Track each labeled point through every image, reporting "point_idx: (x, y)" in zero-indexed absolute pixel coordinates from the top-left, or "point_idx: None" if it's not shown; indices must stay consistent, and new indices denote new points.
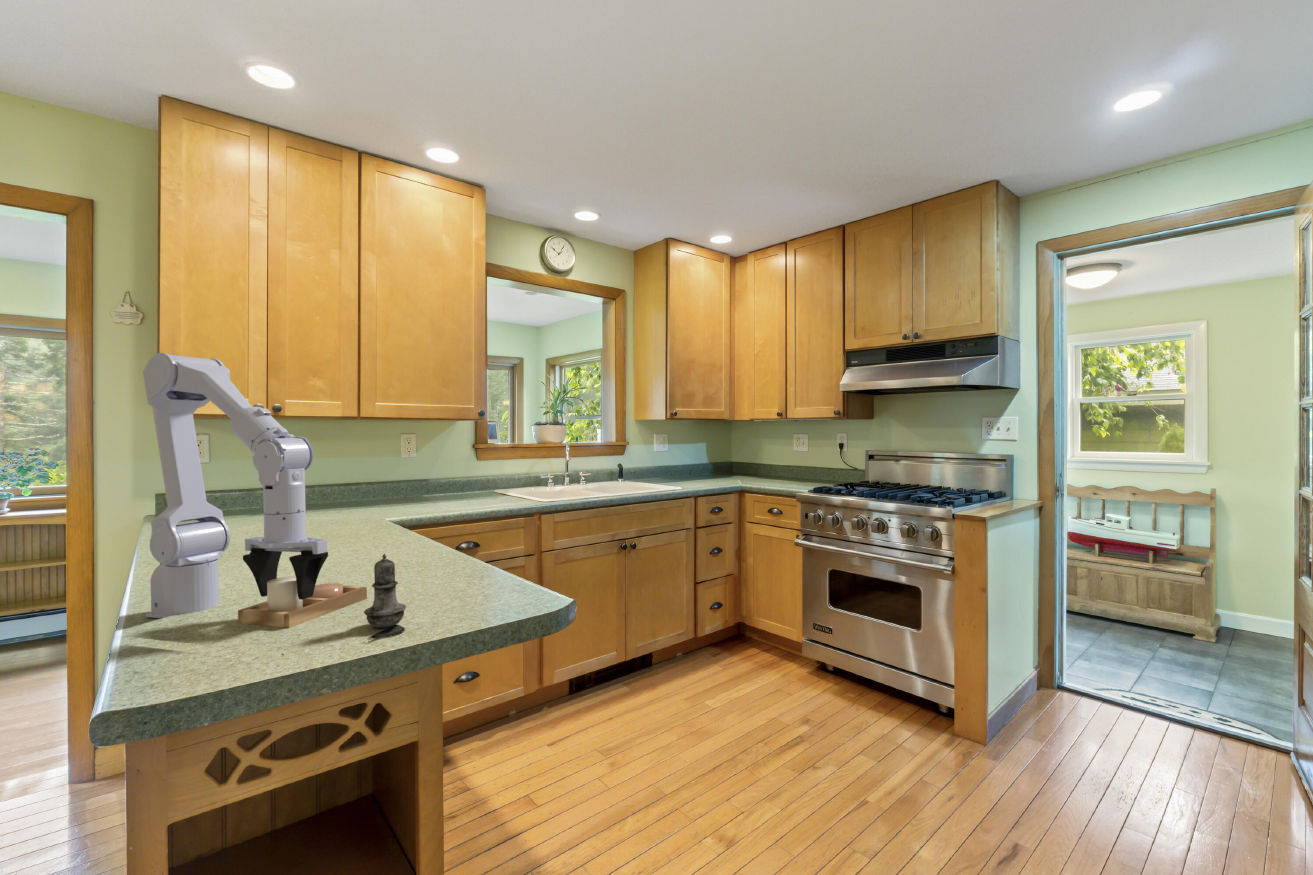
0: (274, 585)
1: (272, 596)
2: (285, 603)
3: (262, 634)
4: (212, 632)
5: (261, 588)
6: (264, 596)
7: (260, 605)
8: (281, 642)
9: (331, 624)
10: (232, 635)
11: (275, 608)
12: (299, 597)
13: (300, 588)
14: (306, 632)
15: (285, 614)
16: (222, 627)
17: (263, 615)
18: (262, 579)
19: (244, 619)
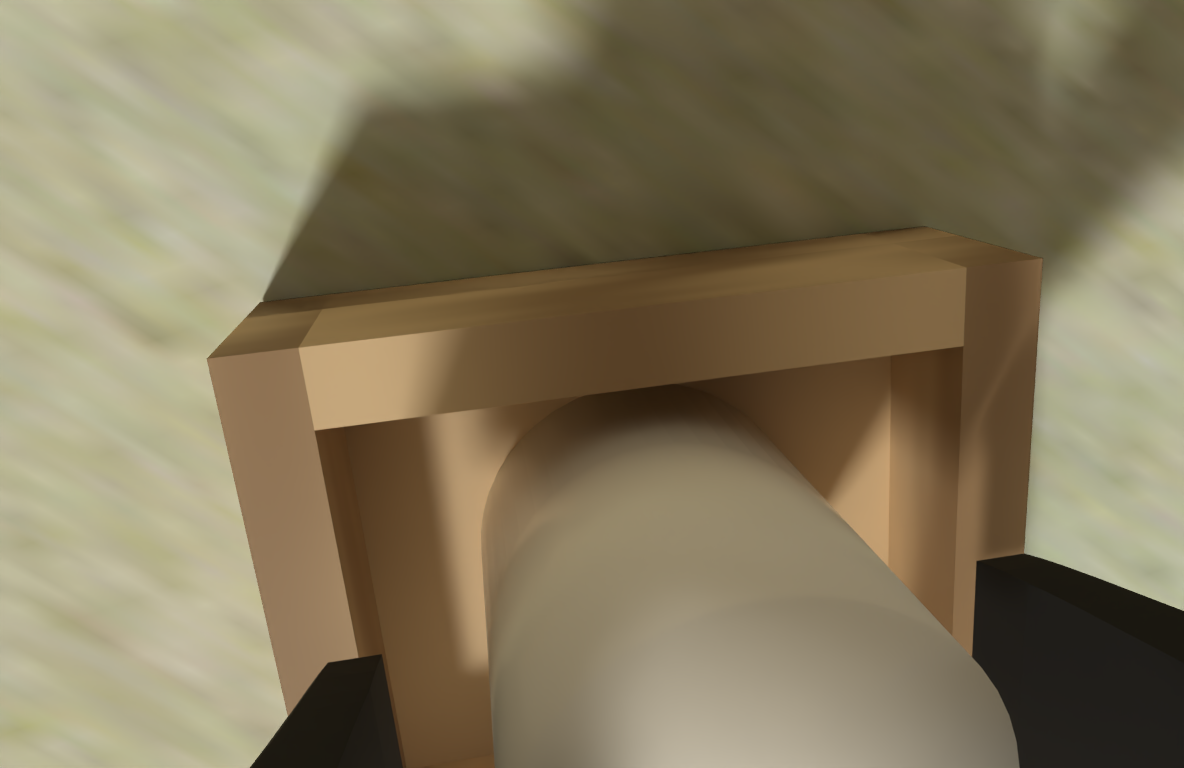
0: (698, 601)
1: (686, 499)
2: (529, 540)
3: (539, 202)
4: (1097, 76)
5: (1055, 592)
6: (978, 568)
7: (956, 490)
8: (66, 85)
9: (152, 646)
10: (815, 76)
11: (614, 447)
12: (360, 666)
13: (269, 745)
14: (146, 401)
15: (271, 349)
16: (1130, 216)
17: (632, 296)
18: (1157, 697)
19: (893, 251)
